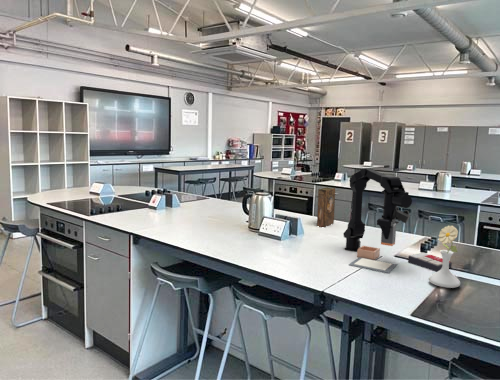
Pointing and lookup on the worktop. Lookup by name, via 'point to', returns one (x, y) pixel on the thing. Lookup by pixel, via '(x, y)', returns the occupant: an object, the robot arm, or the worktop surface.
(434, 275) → the flower in vase
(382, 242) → the grey square block
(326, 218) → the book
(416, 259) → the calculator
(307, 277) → the worktop surface
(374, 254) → the copper square tube
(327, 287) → the worktop surface
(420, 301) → the worktop surface
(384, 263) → the writing mat
